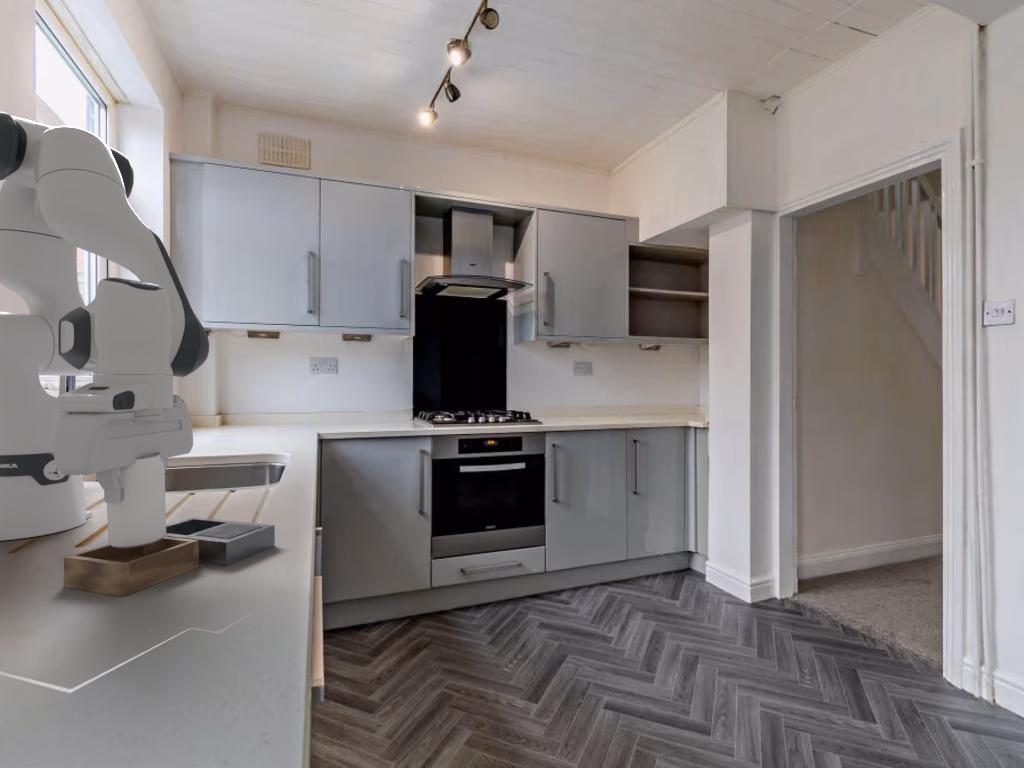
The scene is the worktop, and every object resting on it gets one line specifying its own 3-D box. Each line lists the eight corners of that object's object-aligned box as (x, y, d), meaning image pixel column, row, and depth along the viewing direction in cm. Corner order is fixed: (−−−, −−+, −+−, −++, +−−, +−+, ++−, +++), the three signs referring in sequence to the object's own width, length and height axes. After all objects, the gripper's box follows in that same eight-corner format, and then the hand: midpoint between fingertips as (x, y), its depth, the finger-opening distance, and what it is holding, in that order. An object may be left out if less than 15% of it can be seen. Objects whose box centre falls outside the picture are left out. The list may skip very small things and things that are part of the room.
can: (136, 551, 66) (133, 460, 65) (95, 547, 67) (92, 458, 67) (177, 534, 72) (175, 451, 72) (139, 531, 74) (137, 450, 73)
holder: (63, 586, 66) (63, 557, 66) (144, 559, 76) (144, 533, 76) (122, 597, 62) (122, 565, 62) (198, 567, 73) (198, 540, 73)
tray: (139, 555, 78) (139, 531, 78) (194, 537, 87) (194, 516, 87) (226, 566, 73) (226, 542, 73) (274, 546, 82) (274, 524, 82)
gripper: (165, 394, 80) (165, 481, 80) (42, 398, 59) (42, 515, 59) (204, 394, 79) (204, 481, 80) (95, 398, 59) (94, 516, 59)
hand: (134, 496), depth 69 cm, fingers closed on can, 5 cm apart
